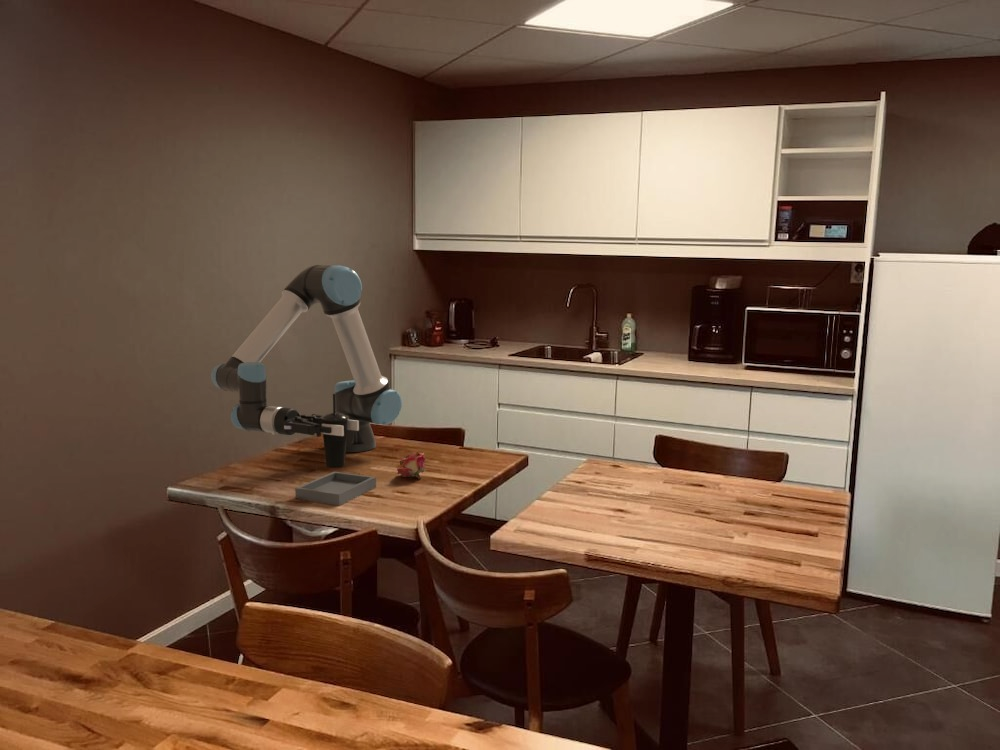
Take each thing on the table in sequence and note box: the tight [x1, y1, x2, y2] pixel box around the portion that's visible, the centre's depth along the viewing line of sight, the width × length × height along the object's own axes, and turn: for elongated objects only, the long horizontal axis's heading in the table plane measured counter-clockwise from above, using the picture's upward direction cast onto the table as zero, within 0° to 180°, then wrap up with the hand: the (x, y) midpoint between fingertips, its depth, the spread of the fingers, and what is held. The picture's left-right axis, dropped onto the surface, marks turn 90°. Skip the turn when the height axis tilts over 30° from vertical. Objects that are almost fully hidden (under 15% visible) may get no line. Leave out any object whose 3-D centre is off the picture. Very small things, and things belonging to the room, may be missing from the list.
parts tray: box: [294, 471, 377, 506], centre depth 219 cm, size 18×14×3 cm
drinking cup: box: [320, 393, 349, 469], centre depth 217 cm, size 8×8×20 cm
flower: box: [396, 451, 427, 480], centre depth 234 cm, size 10×9×8 cm
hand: (350, 428), depth 215 cm, fingers closed on drinking cup, 6 cm apart
